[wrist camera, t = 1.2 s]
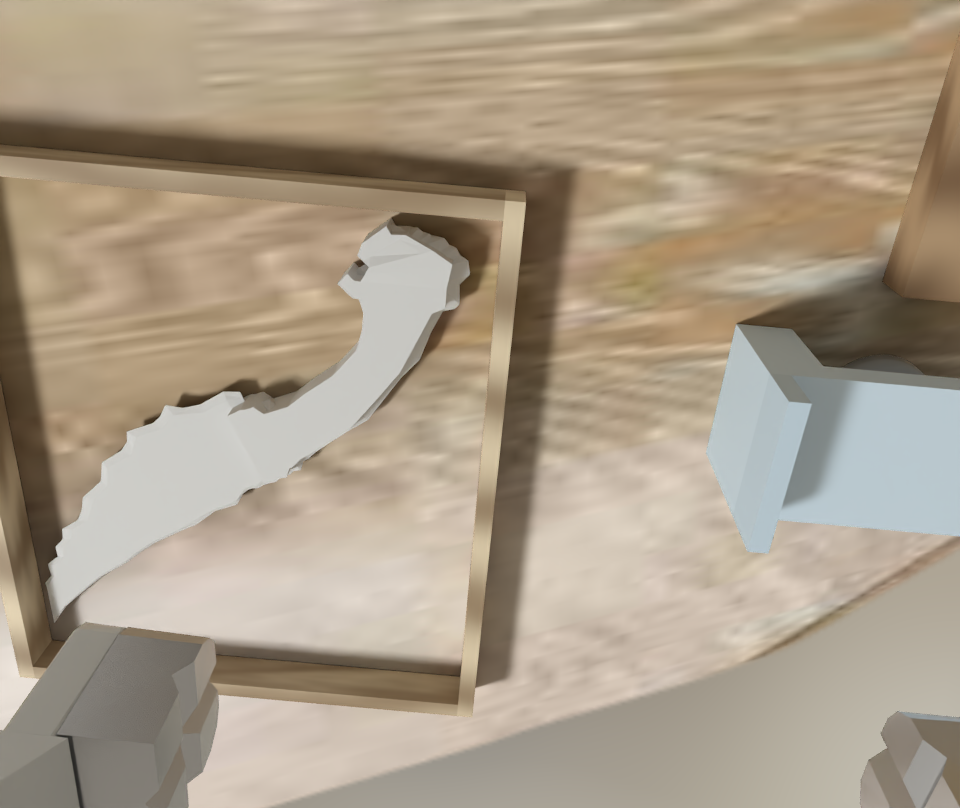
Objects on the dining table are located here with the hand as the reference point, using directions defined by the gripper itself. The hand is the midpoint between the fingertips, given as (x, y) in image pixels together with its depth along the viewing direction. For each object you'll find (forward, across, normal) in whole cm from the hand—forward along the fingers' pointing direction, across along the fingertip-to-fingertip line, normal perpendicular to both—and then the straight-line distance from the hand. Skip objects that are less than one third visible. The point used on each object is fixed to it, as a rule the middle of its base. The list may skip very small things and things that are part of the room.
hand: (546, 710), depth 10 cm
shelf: (+35, -19, +11) cm, 41 cm away
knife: (+35, +15, +18) cm, 42 cm away
